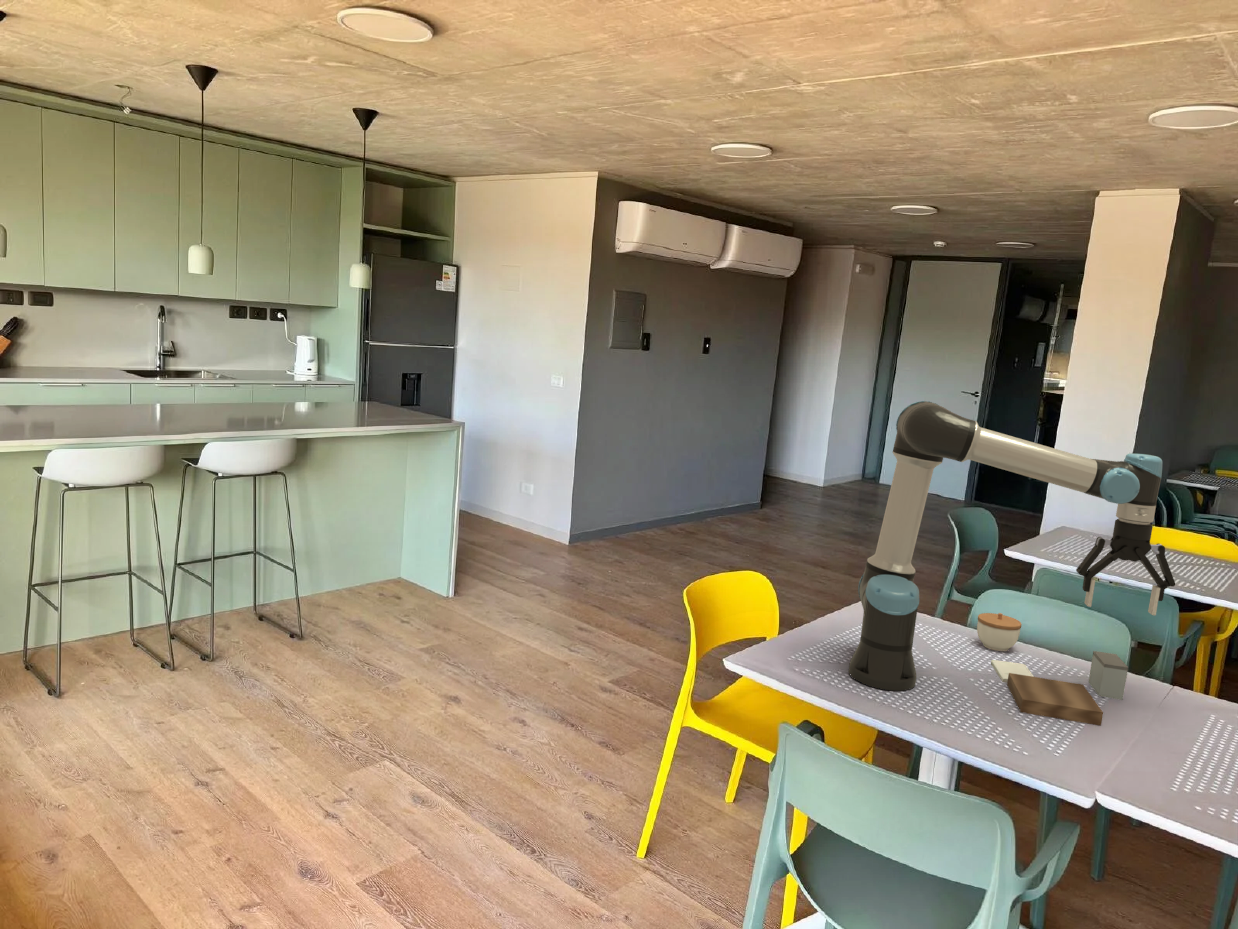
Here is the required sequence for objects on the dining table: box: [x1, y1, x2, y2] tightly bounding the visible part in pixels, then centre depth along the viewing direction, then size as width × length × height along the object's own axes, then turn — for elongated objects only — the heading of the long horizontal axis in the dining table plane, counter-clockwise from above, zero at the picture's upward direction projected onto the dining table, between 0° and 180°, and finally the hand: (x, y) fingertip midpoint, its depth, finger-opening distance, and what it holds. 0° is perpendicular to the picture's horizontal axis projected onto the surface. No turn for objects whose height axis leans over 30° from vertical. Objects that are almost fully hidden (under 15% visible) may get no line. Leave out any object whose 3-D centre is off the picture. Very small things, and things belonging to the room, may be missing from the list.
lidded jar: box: [976, 612, 1022, 652], centre depth 228 cm, size 11×11×9 cm
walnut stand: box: [1006, 673, 1104, 726], centre depth 192 cm, size 16×16×3 cm
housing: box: [1088, 650, 1129, 701], centre depth 203 cm, size 5×9×8 cm, turn 165°
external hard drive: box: [990, 659, 1035, 684], centre depth 209 cm, size 2×8×12 cm
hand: (1119, 609), depth 200 cm, fingers open, 13 cm apart
